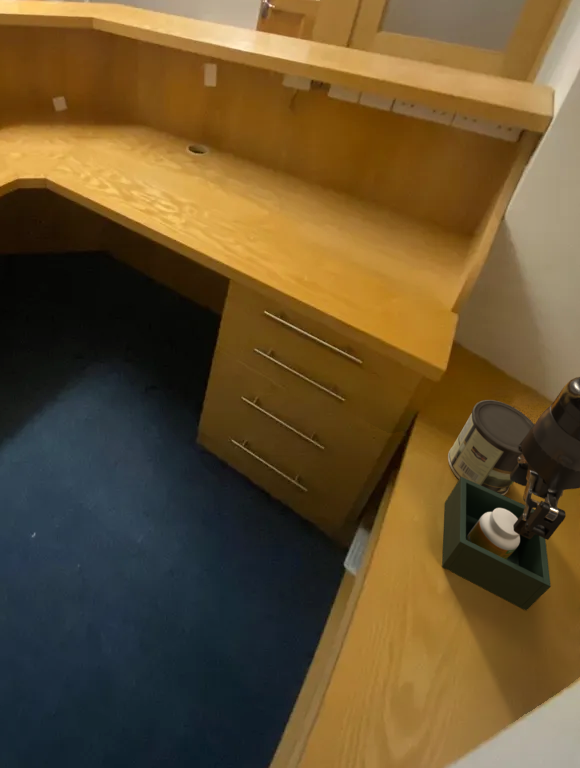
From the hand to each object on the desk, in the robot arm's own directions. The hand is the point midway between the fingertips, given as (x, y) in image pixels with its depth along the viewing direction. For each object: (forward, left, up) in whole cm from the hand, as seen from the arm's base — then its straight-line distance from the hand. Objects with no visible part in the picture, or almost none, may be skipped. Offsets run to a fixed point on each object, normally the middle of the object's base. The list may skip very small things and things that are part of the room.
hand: (519, 505), depth 77 cm
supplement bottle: (0, 0, -15) cm, 15 cm away
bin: (0, 0, -15) cm, 15 cm away
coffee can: (+1, -16, -15) cm, 22 cm away
